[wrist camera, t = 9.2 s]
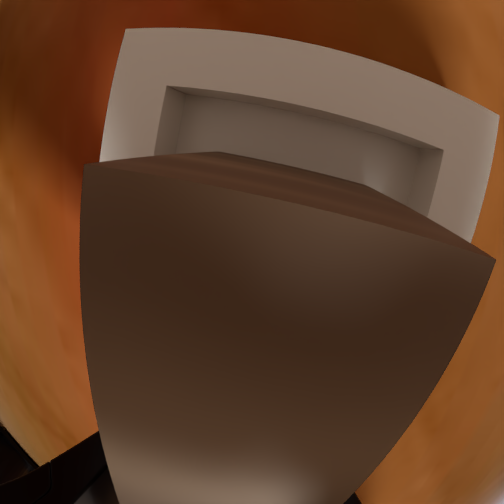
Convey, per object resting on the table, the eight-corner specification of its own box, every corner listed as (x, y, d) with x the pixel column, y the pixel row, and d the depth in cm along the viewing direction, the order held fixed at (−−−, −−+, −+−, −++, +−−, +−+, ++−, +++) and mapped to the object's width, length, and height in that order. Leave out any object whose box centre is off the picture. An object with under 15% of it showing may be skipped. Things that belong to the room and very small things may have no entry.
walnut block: (257, 481, 13) (242, 584, 7) (177, 462, 13) (143, 561, 7) (365, 184, 8) (496, 259, 2) (218, 151, 8) (84, 164, 3)
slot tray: (295, 497, 14) (293, 530, 12) (137, 460, 15) (122, 491, 13) (456, 119, 8) (499, 115, 6) (162, 52, 8) (126, 28, 6)
